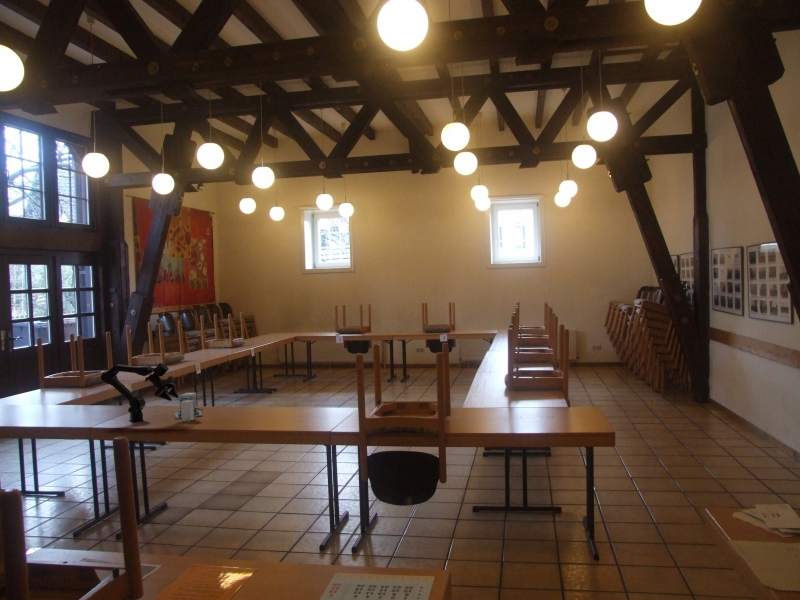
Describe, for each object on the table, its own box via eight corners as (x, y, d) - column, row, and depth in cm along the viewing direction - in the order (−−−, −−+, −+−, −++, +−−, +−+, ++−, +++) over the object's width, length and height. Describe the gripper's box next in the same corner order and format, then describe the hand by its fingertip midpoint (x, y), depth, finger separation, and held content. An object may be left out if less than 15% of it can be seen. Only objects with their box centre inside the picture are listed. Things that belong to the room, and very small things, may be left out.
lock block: (181, 421, 361) (181, 402, 360) (185, 419, 366) (184, 400, 366) (190, 421, 360) (189, 401, 360) (193, 419, 366) (193, 400, 366)
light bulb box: (188, 411, 391) (188, 395, 391) (179, 411, 393) (179, 395, 393) (197, 408, 402) (196, 392, 402) (188, 407, 403) (187, 392, 403)
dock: (175, 419, 367) (175, 415, 367) (174, 414, 382) (174, 410, 381) (202, 416, 373) (201, 412, 373) (200, 412, 388) (200, 407, 388)
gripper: (158, 374, 354) (176, 392, 354) (172, 370, 373) (189, 387, 373) (146, 387, 355) (164, 405, 355) (160, 382, 374) (177, 399, 373)
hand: (174, 399), depth 364 cm, fingers open, 9 cm apart
